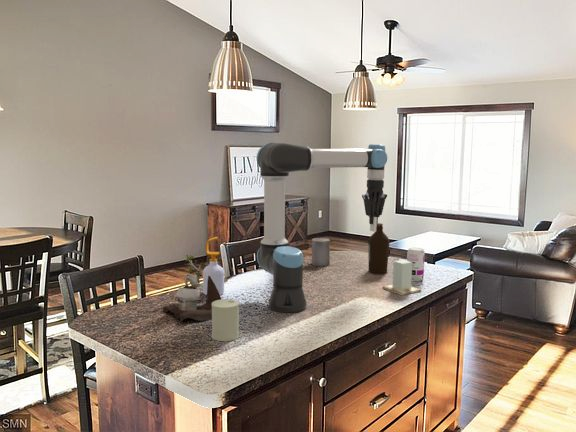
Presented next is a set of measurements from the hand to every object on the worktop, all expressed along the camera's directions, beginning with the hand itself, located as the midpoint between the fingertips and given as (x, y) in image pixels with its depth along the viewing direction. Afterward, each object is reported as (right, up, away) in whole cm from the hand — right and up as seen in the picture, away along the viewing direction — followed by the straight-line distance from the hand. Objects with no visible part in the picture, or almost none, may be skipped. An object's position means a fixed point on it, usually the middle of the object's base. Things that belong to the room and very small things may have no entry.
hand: (373, 231), depth 237 cm
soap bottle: (-71, -27, -11) cm, 77 cm away
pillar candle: (-21, -19, +46) cm, 54 cm away
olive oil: (+7, -22, +31) cm, 39 cm away
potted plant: (-74, -31, -37) cm, 88 cm away
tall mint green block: (+13, -25, -2) cm, 29 cm away
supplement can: (+23, -24, +17) cm, 37 cm away
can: (-60, -34, -61) cm, 92 cm away
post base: (+13, -26, -2) cm, 29 cm away
